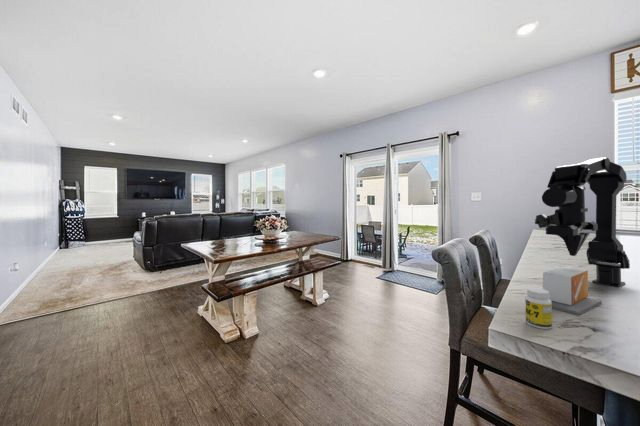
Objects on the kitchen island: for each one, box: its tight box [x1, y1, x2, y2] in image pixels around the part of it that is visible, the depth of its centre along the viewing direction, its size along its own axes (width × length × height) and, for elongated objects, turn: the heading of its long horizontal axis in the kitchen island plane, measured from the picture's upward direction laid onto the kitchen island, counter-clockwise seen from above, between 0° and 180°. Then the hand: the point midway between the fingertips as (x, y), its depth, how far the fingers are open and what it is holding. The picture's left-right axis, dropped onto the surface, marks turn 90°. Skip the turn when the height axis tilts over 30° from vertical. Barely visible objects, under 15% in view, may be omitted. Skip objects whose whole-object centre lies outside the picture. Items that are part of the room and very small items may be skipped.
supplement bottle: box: [525, 287, 553, 330], centre depth 60 cm, size 5×5×8 cm
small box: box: [542, 266, 589, 305], centre depth 74 cm, size 8×6×13 cm
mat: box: [551, 297, 603, 316], centre depth 72 cm, size 15×11×1 cm
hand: (573, 255), depth 77 cm, fingers closed
